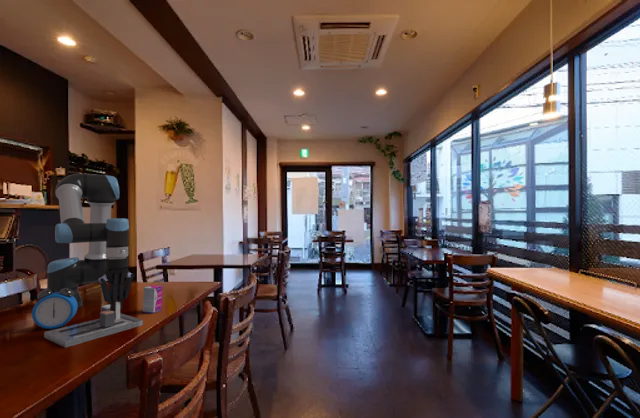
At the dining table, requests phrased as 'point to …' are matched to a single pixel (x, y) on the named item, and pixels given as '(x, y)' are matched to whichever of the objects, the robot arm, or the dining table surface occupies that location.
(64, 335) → the console
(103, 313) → the fader terracotta
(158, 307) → the supplement box
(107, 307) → the fader white
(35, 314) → the alarm clock
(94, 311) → the dining table surface
